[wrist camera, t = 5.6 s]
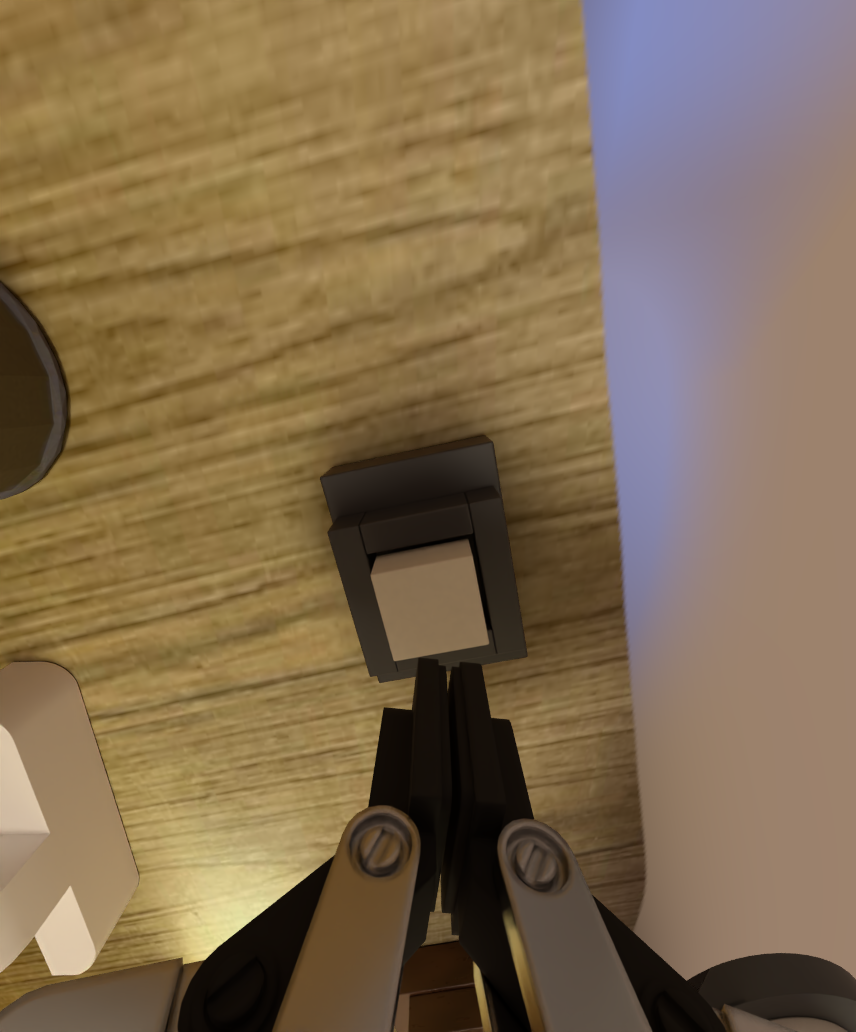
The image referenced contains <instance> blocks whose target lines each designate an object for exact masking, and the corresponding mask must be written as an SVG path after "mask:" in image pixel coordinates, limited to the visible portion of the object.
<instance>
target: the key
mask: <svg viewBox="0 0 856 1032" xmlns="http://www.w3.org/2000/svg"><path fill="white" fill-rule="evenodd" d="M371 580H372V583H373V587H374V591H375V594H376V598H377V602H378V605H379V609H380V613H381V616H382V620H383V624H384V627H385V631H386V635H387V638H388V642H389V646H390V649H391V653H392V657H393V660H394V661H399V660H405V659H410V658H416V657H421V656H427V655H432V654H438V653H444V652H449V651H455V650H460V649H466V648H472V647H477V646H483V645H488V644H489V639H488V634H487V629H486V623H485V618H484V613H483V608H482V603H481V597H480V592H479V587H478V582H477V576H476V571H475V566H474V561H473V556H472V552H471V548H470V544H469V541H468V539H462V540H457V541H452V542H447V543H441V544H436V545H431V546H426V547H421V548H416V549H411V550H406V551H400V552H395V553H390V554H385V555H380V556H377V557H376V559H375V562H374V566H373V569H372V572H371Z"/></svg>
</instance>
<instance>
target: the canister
mask: <svg viewBox="0 0 856 1032" xmlns="http://www.w3.org/2000/svg"><path fill="white" fill-rule="evenodd" d="M66 418H67V402H66V391H65V387H64V384H63V380H62V376H61V373H60V369H59V366H58V362H57V360H56V358H55V356H54V354H53V353H52V351H51V349H50V347H49V345H48V343H47V341H46V339H45V337H44V335H43V334H42V332H41V330H40V329H39V327H38V325H37V324H36V322H35V321H34V319H33V318H32V317H31V316H30V314H29V313H28V312H27V310H26V309H25V308H24V307H23V305H22V304H21V303H20V302H19V301H18V300H17V299H16V298H15V297H14V296H13V295H12V294H11V293H10V292H9V291H8V290H7V289H6V288H5V286H4V285H3V284H2V283H1V282H0V499H5V498H8V497H10V496H13V495H15V494H18V493H21V492H23V491H25V490H26V489H28V488H29V487H31V486H32V485H33V484H35V483H36V482H38V481H39V480H41V479H42V478H43V476H44V475H45V473H46V472H47V470H48V469H49V467H50V466H51V465H52V463H53V462H54V460H55V459H56V457H57V456H58V454H59V453H60V452H61V447H62V442H63V436H64V430H65V425H66Z"/></svg>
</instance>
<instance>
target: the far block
mask: <svg viewBox="0 0 856 1032" xmlns="http://www.w3.org/2000/svg"><path fill="white" fill-rule="evenodd" d="M395 1028H396V1031H397V1032H484V1031H483V1026H482V1020H481V1015H480V1009H479V1004H478V998H477V993H476V987H475V982H474V973H473V960H472V959H471V958H470V956H469V955H468V954H467V952H466V951H465V950H464V949H463V947H462V946H461V945H460V943H459V942H453V943H446V944H440V945H434V946H428V947H421V948H418V949H417V951H416V952H415V953H414V954H413V955H412V956H411V958H410V959H409V960H408V961H407V962H406V963H405V964H404V971H403V977H402V983H401V989H400V995H399V1001H398V1007H397V1014H396V1020H395Z"/></svg>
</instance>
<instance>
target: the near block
mask: <svg viewBox="0 0 856 1032" xmlns="http://www.w3.org/2000/svg"><path fill="white" fill-rule="evenodd" d="M320 480H321V484H322V487H323V491H324V494H325V497H326V501H327V504H328V508H329V511H330V515H331V518H332V522H333V525H332V526H331V527H330V529H329V530H328V536H329V540H330V543H331V546H332V550H333V553H334V557H335V560H336V563H337V567H338V570H339V573H340V577H341V580H342V584H343V587H344V590H345V594H346V597H347V600H348V604H349V607H350V611H351V614H352V617H353V621H354V624H355V628H356V631H357V634H358V638H359V641H360V644H361V648H362V651H363V655H364V658H365V661H366V665H367V668H368V672H369V675H370V677H373V676H377V677H378V680H379V683H383V682H388V681H394V680H400V679H405V678H411V677H416V671H417V663H418V657H416V658H410V659H405V660H399V661H394V660H393V657H392V653H391V649H390V646H389V642H388V638H387V635H386V631H385V627H384V624H383V620H382V616H381V613H380V609H379V605H378V602H377V598H376V594H375V591H374V587H373V583H372V580H371V572H372V569H373V566H374V562H375V559H376V557H377V556H380V555H385V554H390V553H395V552H400V551H406V550H411V549H416V548H421V547H426V546H431V545H436V544H441V543H447V542H452V541H457V540H462V539H468V541H469V544H470V548H471V552H472V556H473V561H474V566H475V571H476V576H477V582H478V587H479V592H480V597H481V603H482V608H483V613H484V618H485V623H486V629H487V634H488V639H489V644H488V645H483V646H477V647H472V648H466V649H460V650H455V651H449V652H444V653H438V654H432V655H427V656H421V658H431V659H438V660H439V665H444V666H446V671H451V668H452V666H453V667H459V664H460V662H470V663H480V664H481V665H485V664H491V663H496V662H502V661H508V660H513V659H519V658H525V657H527V655H528V654H527V648H526V642H525V636H524V630H523V624H522V617H521V611H520V605H519V599H518V593H517V586H516V580H515V574H514V568H513V562H512V556H511V549H510V543H509V537H508V531H507V525H506V518H505V512H504V506H503V500H502V494H501V488H500V481H499V475H498V469H497V463H496V457H495V450H494V444H493V442H492V441H491V440H490V439H489V438H488V437H486V436H479V437H474V438H470V439H465V440H460V441H455V442H451V443H446V444H441V445H436V446H431V447H427V448H422V449H417V450H412V451H408V452H403V453H398V454H393V455H389V456H384V457H379V458H374V459H369V460H365V461H360V462H355V463H350V464H346V465H341V466H336V467H332V468H331V469H330V470H329V471H327V472H326V473H325V474H324V475H323V476H321V477H320Z"/></svg>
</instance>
